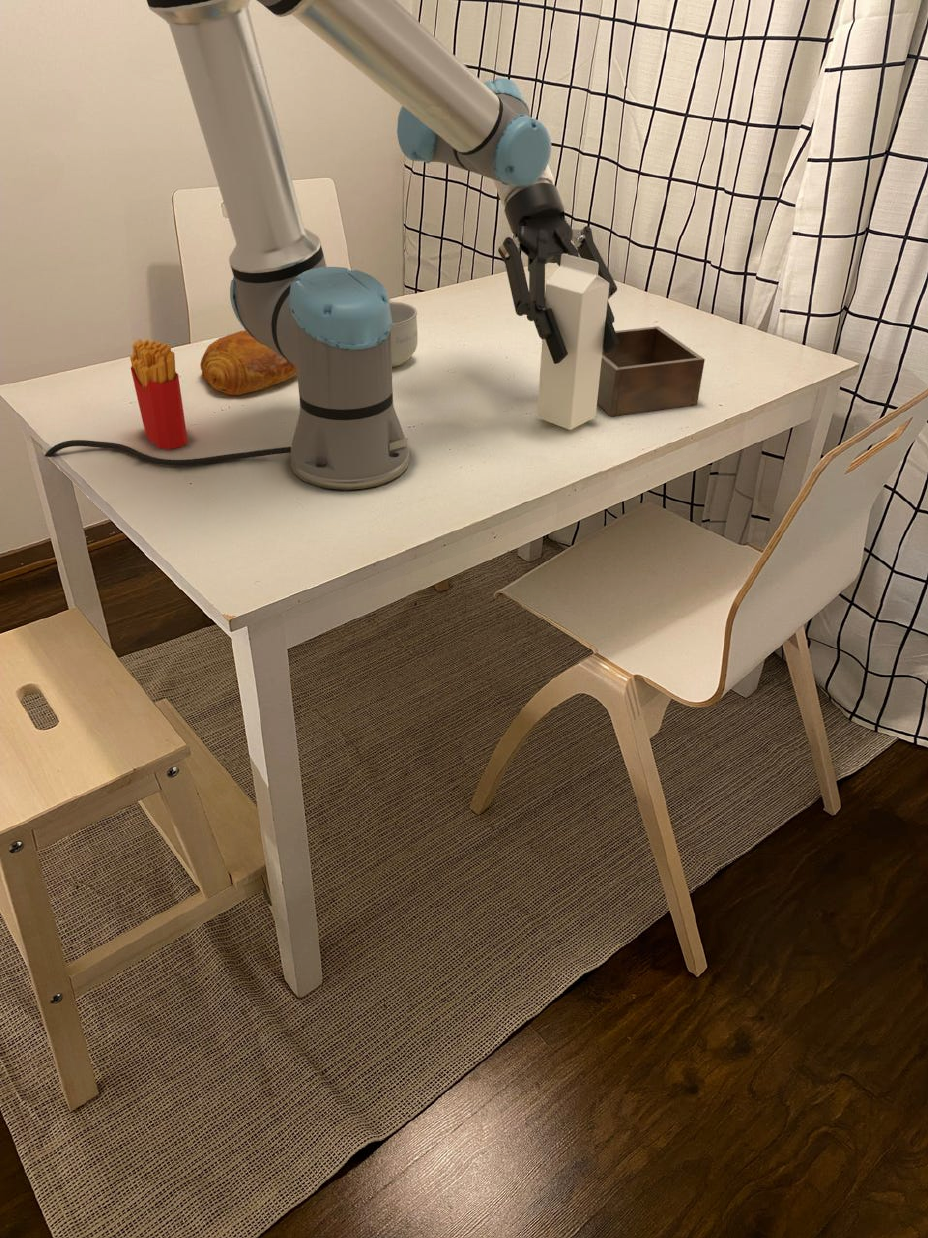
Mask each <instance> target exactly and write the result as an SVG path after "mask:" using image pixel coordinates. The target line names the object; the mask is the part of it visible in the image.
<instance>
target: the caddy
mask: <svg viewBox="0 0 928 1238" xmlns="http://www.w3.org/2000/svg"><path fill="white" fill-rule="evenodd" d="M615 332H616V335H617V338H618V340H619V343H620V344H619V345H618V346H617V347H615V348H614V349H613V350H612V351H611V352H610V353H606V354H605V352H604V349H603V350H602V360H601V370H600V379H599V389H598V398H597V406H599V407H600V408H601V409H602V410H603V411H604V412H605V413H606V414H608V416H609V417H618V416H624V415H632V414H637V413H638V414H639V413H646V412H647V413H648V412H653V411H661V410H668V409H676V408H677V409H678V408H683V407H691V406H697V405H698V401H699V395H700V391H701V383H702V379H703V372H704V367H705V358H704V357H703V356H702V355H700V354H698V353H697V352H695V351H694V350H692V349H691V348H690V347H688V346H687V345H686V344H684V343H682V342H681V341H680V340H679V339H677V338H676V337H674V336H673V335H671V334H670V333H669V332H667V331H666V330H664V329H663V328H661V326H659V325H656V326H648V327H640V328H639V327H638V328H631V329H630V328H629V329H620V330H615Z"/></svg>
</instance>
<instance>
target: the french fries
mask: <svg viewBox="0 0 928 1238" xmlns="http://www.w3.org/2000/svg"><path fill="white" fill-rule="evenodd" d="M131 347H132V349H133V350H132V354H131V355H130V357H129V359H130V363H131V366H130V371H131V372H130V373H131V376H132V380H133V385H134V389H135V395H136V398H137V402H138V403H137V404H138V406H139V411H140V415H141V420H142V424H143V429H144V433H145V437H146V438H147V439H148V440H149V441H150V442H151V443H152V444H153V445H154V446H156V447H158V448H159V449H164V450H174V449H177V448H180V447H184V446H185V445H187V442H188V434H187V427H186V421H185V415H184V414H185V413H184V405H183V400H182V393H181V387H180V385H181V384H180V378H179V374H178V372H176V358H175V352H173V351H172V347H171V346H170V345H168V344H167V343H166V342H164V343H163V344H162V342H161V341H158V342H156V340H155V339H152V340H150V341H149V339H148V338H147V339H145V340H143V341H142V339H141V338H138V339H137V340H136V341H134V343H133V344H132V345H131Z"/></svg>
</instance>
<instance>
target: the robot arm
mask: <svg viewBox="0 0 928 1238" xmlns="http://www.w3.org/2000/svg"><path fill="white" fill-rule="evenodd" d="M250 1H251V0H146V3H147V6H148V9H149V11H151V12H152V13H154V14H156V15H157V16H158V17H160V18H161V19H162V20H164V21H165V22H166V23H167V24H168V25H169V28H170V31H171V35H172V37H173V42H174V45H175V47H176V51H177V54H178V58H179V61H180V64H181V68H182V70H183V74H184V77H185V80H186V84H187V87H188V91H189V93H190V94H189V95H190V97H191V101H192V104H193V107H194V111H195V113H196V115H197V116H196V117H197V120H198V123H199V126H200V130H201V133H202V136H203V140H204V143H205V146H206V149H207V152H208V155H209V159H210V162H211V165H212V168H213V169H212V170H213V171H214V175H215V178H216V182H217V186H218V188H219V191H220V195H221V199H222V200H223V205H224V208H225V211H226V214H227V217H228V221H229V224H230V228H231V231H232V234H233V237H234V240H235V246H234V248H233V250H232V251H231V252H230V254H229V257H228V262H229V265H230V269H231V272H232V276H233V278H232V279H231V280H230V286H229V297H230V304H231V307H232V311H233V314H234V315H235V317H236V319H237V321H238V322H239V324H240V325H241V327H243V329H244V331H245V330H246V331H247V332H248V333H249V334H250V335H251V336H252V337H253V338H254V339H255V340H256V341H258V342H259V343H261V344H262V345H265V346H267V347H268V348H270V349H271V350H273V351H274V352H276V353H277V354H279V355H280V356H282V357H283V358H284V359H286V360H287V361H289V362H290V363H292V364H293V365H294V366H296V369H297V373H296V378H297V388H298V396H299V397H298V398H299V413H298V416H297V422H296V424H295V429H294V432H293V437H292V441H291V445H290V446H284V447H275V448H265V449H258V450H252V451H251V450H250V451H244V452H235V453H227V454H220V455H214V456H206V457H199V458H189V459H171V458H170V459H169V458H167V459H166V458H159V457H155V456H150V455H148V454H145V453H143V452H141V451H139V450H136V449H135V448H133V447H130V446H128V445H125V444H121V443H116V442H108V441H99V440H98V441H97V440H88V439H87V440H86V439H72V440H66V441H62V442H59V443H57V444H55V445H53V446H52V447H50V449H48V450H47V451H46V453H44V457H46V458H49V457H50V458H51V457H53V456H54V455H55V454H56V453H57V452H59V451H61V450H63V449H66V448H71V447H86V448H87V447H90V448H98V449H99V448H101V449H111V450H117V451H121V452H124V453H126V454H128V455H130V456H134V457H135V458H137V459H139V460H141V461H144V462H146V463H149V464H154V465H158V466H166V467H167V466H170V467H184V466H186V467H187V466H200V465H207V464H215V463H220V462H228V461H236V460H242V459H243V460H244V459H250V458H259V457H265V456H274V455H283V454H284V455H285V454H289V457H290V466H291V467H290V468H291V469H292V472H293V473H294V474H295V475H296V476H297V477H298V478H299V479H300V480H302V481H304V482H306V483H308V484H309V485H313V486H316V487H320V488H324V489H329V490H330V489H331V490H342V491H343V490H344V491H346V490H347V491H348V490H349V491H351V490H363V489H369V488H373V487H378V486H380V485H384V484H386V483H389V482H391V481H393V480H395V479H396V478H398V477H400V476H401V475H402V474H403V473H404V472H405V471H406V470H407V468H408V466H409V462H410V456H409V444H408V437H407V438H406V436H405V434H404V431H403V428H402V426H401V423H400V420H399V417H398V415H397V412H396V409H395V406H394V393H393V392H394V391H393V390H394V389H393V387H394V386H393V367H392V348H391V327H392V316H391V311H390V305H389V299H390V297H389V294H388V291H387V289H386V288H385V286H384V285H383V283H381V282H380V280H378V279H377V278H376V277H374V276H372V275H371V274H369V273H366V272H365V271H361V270H358V269H353V270H350V269H349V268H347V267H342V266H327V263H326V259H325V255H324V251H323V248H322V243H321V239H320V238H319V235H317V234H315V233H313V232H312V231H310V230H308V229H307V228H306V227H305V226H304V222H303V217H302V214H301V211H300V206H299V202H298V198H297V194H296V190H295V186H294V182H293V179H292V174H291V170H290V166H289V163H288V159H287V155H286V151H285V147H284V143H283V139H282V135H281V131H280V127H279V123H278V119H277V116H276V112H275V108H274V104H273V100H272V96H271V92H270V87H269V85H268V80H267V76H266V72H265V68H264V65H263V60H262V56H261V52H260V48H259V45H258V42H257V38H256V33H255V30H254V29H255V28H254V25H253V22H252V16H251V13H250V10H249V5H250V3H251V2H250ZM256 1H257V2H258V3H259V4H261V5H262V6H263V7H265V9H267V10H268V11H269V12H271V13H272V14H273V15H274V16H276V17H279V18H283V17H288V16H293V17H294V18H295V19H296V20H298V21H299V22H300V23H301V24H303V25H304V26H305V27H306V28H307V29H309V30H310V31H311V32H312V33H313V34H315V35H316V36H317V37H318V38H320V40H322V41H323V42H325V43H326V44H327V45H328V46H329V47H331V48H332V49H333V50H334V51H336V52H337V53H338V55H340V56H342V57H343V58H344V59H345V60H346V61H347V62H349V63H350V64H351V65H352V66H354V67H355V68H356V69H357V70H359V71H360V72H361V74H363V75H364V76H366V77H367V78H368V79H369V80H370V81H372V82H373V83H374V84H375V85H377V86H378V87H379V88H380V89H381V90H383V92H385V93H386V94H388V95H389V96H390V97H391V98H393V100H395V101H396V102H398V104H399V105H401V107H400V110H399V111H398V116H397V129H396V134H397V141H398V145H399V148H400V150H401V152H402V154H403V155H404V156H405V158H407V159H409V160H410V161H413V162H423V163H425V164H430V163H443V164H445V165H448V166H452V167H455V168H458V169H460V170H464V171H466V172H471V173H473V174H477V175H480V176H483V177H485V178H489V179H491V180H492V181H493V184H494V186H495V190H496V192H497V195H498V197H499V199H500V203H501V205H502V207H504V214H505V217H506V219H507V222H508V226H509V228H510V230H511V233H512V234H513V235H514V237H513V238H512V237H510V236H507V237H505V238H504V239H503V242H502V243H500V246H499V247H498V249H497V252H498V254H499V255H500V257H501V259H502V260H503V262H504V265H505V270H506V274H507V278H508V284H509V289H510V293H511V296H512V301H513V307H514V311H515V314H516V315H517V316H518V317H522V316H524V315H525V316H526V319H527V320H528V321H529V322H533V323H534V326H535V329H536V331H537V334H538V337H539V339H541V340H542V339H545V340H546V343H547V346H548V348H549V351H550V354H551V357H552V359H553V362H554V364H558V363H560V362H561V361H562V360H563V359H564V358H565V357H566V356H567V355H568V352H567V349H566V347H565V344H564V341H563V339H562V336H561V333H560V330H559V328H558V325H557V322H556V319H555V317H554V314H553V311H552V308H549V309H546V310H545V311H544V308H545V290H546V265H547V264H556V265H557V266H558V267H559V266H560V263H561V255H562V254H567V255H571V256H575V257H579V258H583V259H586V260H590V261H594V262H597V263H598V265H599V267H598V275H599V276H600V277H602V278H603V279H604V280H606V281H607V282H609V292H608V300H609V299H611V298H612V296H613V295H614V294H616V293H617V291H618V286H617V284H616V283H615V281H614V278H613V276H612V274H611V272H610V271H609V269H608V266H607V265H606V263H605V261H604V259H603V257H602V255H601V253H600V251H599V249H598V247H597V245H596V244H595V242H594V237H593V231H592V228H591V227H590V226H589V225H585V226H584V227H583V228H582V229H575V228H572V226H571V224H569V222H568V221H567V219H566V215H565V206H564V204H563V201H562V199H561V196H560V192H559V189H558V188H557V186H556V185H555V178H554V176H553V173H552V171H551V168H550V166H549V164H550V163H549V162H550V159H551V155H552V140H551V136H550V133H549V131H548V129H547V127H546V125H544V123H543V122H542V121H540V120H538V119H536V118H533V117H532V116H531V114H530V113H531V112H530V109H529V106H528V104H527V103H526V102H525V99H524V97H523V95H522V93H521V91H520V88H519V86H518V85H517V84H516V83H515V82H514V81H513V80H511V79H510V78H505V77H498V78H495V79H494V80H491V81H490V80H487V81H485V82H483V81H482V80H481V79H480V78H479V76H477V75H476V74H475V73H474V72H473V71H471V70H470V68H468V66H467V65H465V64H464V63H463V62H462V61H461V60H460V59H459V58H458V57H457V56H456V55H455V54H454V53H453V52H451V50H450V49H449V48H447V47H446V46H445V45H444V44H443V43H442V42H441V40H439V39H438V38H436V36H434V35H433V33H431V32H430V31H429V29H427V28H426V27H425V26H424V25H423V24H422V23H421V22H420V21H419V20H418V19H416V18H415V16H414V15H413V14H411V13H410V12H409V11H408V10H407V9H406V8H405V7H404V6H403V5H402V4H401V3H399V1H398V0H256ZM521 252H522V253H523V254H524V255H525V256H527V272H528V280H527V276H526V272H525V268H524V263H523V259H522V258H523V257H522V255H521ZM614 323H615V316H614V314H613V311H612V308H611V305H610V303H609V301H608V302H607V312H606V321H605V331H604V341H603V349H604V352H605V354H606V353H610V352H611V351H612V350H613V349H614V348H615V347H617V346H618V345H619V344H620V343H619V340H618V338H617V335H616V332H615V331H616V329H615V327H614V325H613V324H614Z"/></svg>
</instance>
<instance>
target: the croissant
mask: <svg viewBox="0 0 928 1238" xmlns="http://www.w3.org/2000/svg"><path fill="white" fill-rule="evenodd" d="M199 365H200V370H201V377H202V379H204V380H205V381H206V383H207V384H210V386H211V387H212V388H213V389H215V390H216V391H219V392H222V393H223V394H226V395H229V396H230V395H231V396H239V395H245V394H248V393H253V392H256V391H257V392H258V391H260V390H263V389H267V388H269V387H272V386H275V385H277V384H279V383H282V382H284V381H286V380H289V379H291V378H292V377H294V376H296V375H297V369H296V366H294V365H293V364H292V363H290V362H289V361H287V360H286V359H284V358H283V357H282V356H280V355H279V354H277V353H276V352H274V351H273V350H271V349H270V348H268V347H267V346H265V345H262V344H261V343H259V342H258V341H256V340H255V339H254V338H253V337H252V336H251V335H250V334H249V333H248V332H247V331H246V330H245V329H244V330H240V331H237V332H234V333H231V334H227V335H225V336H222V337H220V338H218V339H216V340H215V341H213V342H211V343H210V344H209V345H208V346H207V347H206V349H205V351H204V353H203V355H202V357H201V361H200V364H199Z"/></svg>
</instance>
